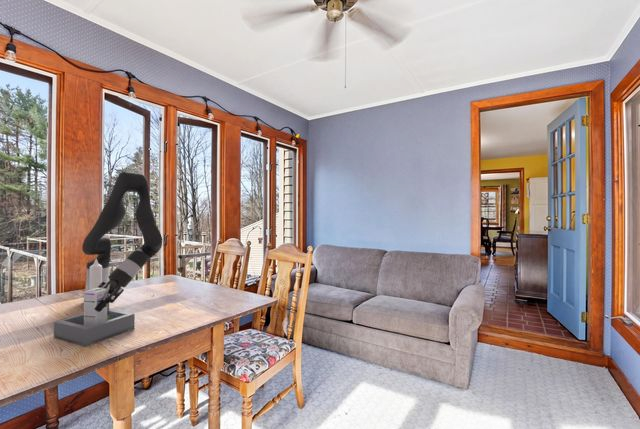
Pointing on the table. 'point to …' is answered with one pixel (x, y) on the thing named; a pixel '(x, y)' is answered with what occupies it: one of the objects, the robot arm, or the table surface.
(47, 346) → the table surface
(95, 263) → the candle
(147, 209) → the robot arm
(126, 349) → the table surface
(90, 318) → the syrup box
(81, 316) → the box
